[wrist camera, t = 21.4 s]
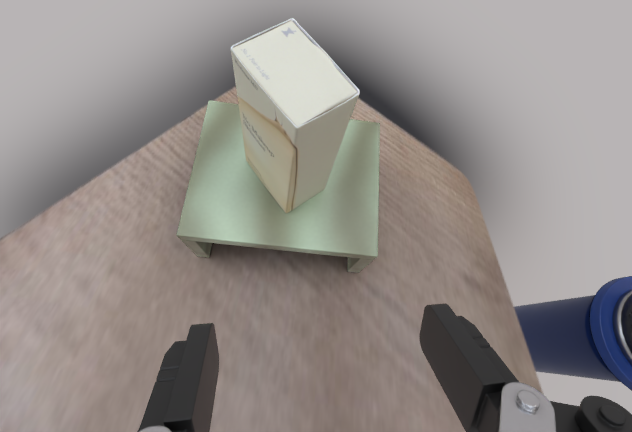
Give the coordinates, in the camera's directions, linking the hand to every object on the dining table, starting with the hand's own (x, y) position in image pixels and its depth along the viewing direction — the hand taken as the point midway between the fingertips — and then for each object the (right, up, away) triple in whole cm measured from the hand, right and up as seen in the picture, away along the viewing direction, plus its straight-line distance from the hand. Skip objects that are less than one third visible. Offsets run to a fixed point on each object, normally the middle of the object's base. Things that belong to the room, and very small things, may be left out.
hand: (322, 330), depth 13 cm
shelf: (-3, +6, +23) cm, 24 cm away
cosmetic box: (-3, +8, +16) cm, 18 cm away
